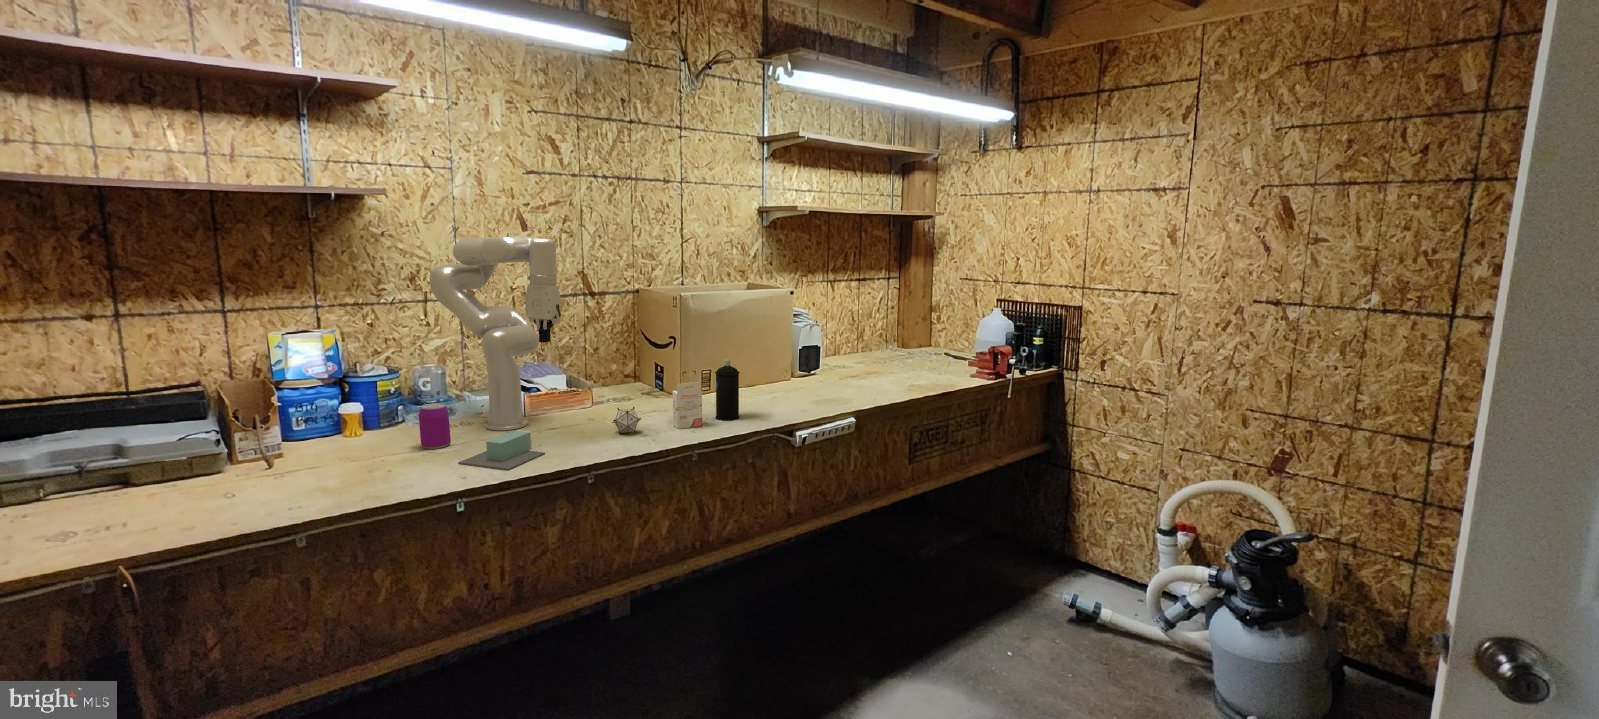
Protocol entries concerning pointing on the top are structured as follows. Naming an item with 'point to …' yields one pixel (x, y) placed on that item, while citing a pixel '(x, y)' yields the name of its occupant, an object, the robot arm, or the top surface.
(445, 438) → the beverage can
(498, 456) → the teal block
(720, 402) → the aerosol can
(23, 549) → the top surface
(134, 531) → the top surface
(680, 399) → the ink cartridge box
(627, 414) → the game die
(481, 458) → the mat
